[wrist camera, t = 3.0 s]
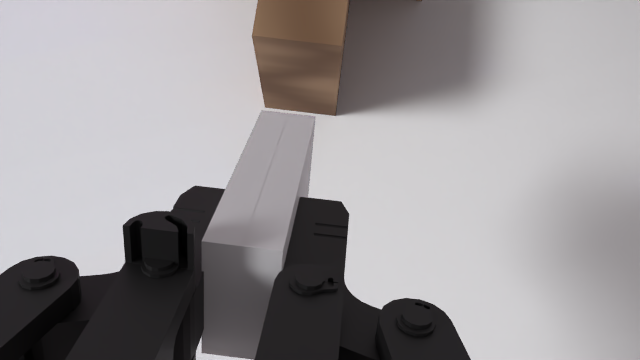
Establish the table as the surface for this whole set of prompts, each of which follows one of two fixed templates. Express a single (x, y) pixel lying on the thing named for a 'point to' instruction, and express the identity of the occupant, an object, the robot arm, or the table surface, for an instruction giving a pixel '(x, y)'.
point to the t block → (300, 53)
